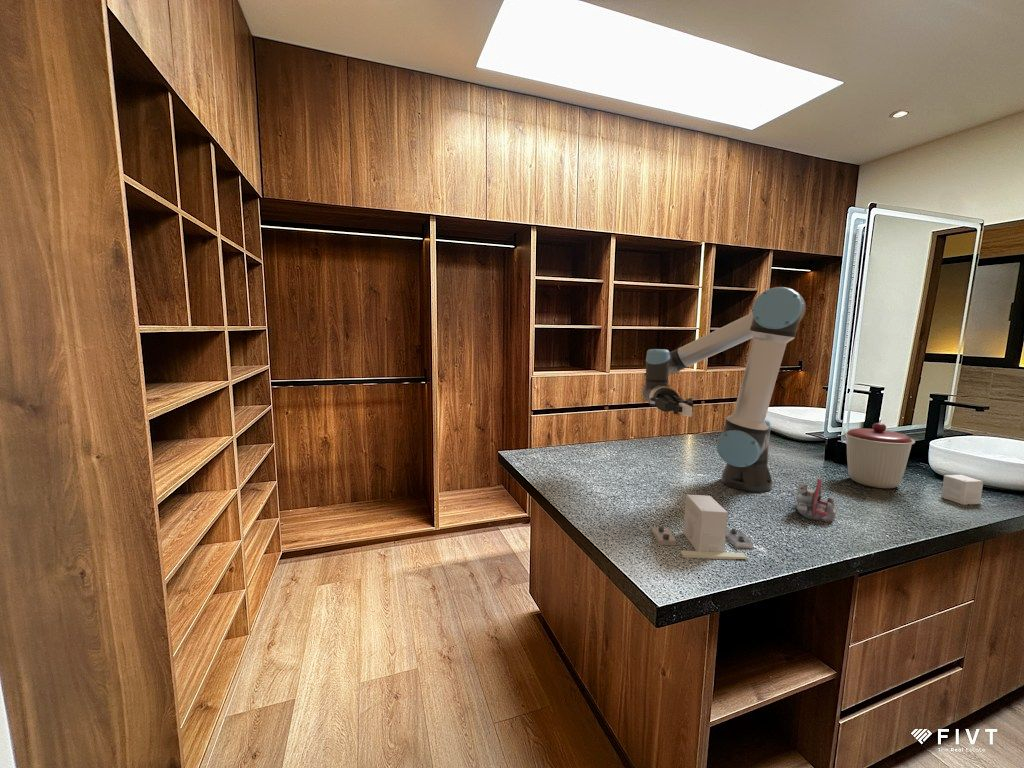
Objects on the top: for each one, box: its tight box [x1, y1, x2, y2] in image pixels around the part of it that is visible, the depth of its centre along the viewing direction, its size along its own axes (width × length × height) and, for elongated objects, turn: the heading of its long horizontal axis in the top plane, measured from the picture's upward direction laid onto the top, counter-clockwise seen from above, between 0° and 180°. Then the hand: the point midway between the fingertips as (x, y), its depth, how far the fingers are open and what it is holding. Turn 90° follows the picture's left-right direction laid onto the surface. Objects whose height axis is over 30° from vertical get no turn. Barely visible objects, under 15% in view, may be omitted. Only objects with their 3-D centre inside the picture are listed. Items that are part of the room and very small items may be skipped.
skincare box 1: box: [683, 494, 729, 552], centre depth 102 cm, size 10×6×10 cm, turn 176°
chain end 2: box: [726, 528, 754, 549], centre depth 104 cm, size 4×7×2 cm, turn 176°
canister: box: [843, 422, 916, 489], centre depth 143 cm, size 18×18×21 cm
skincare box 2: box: [941, 474, 984, 506], centre depth 129 cm, size 6×6×7 cm
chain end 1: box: [651, 526, 677, 546], centre depth 105 cm, size 4×7×2 cm, turn 176°
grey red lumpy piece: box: [793, 477, 837, 523], centre depth 119 cm, size 11×11×12 cm
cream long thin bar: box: [680, 550, 748, 561], centre depth 97 cm, size 14×2×1 cm, turn 86°
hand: (689, 411), depth 113 cm, fingers closed
